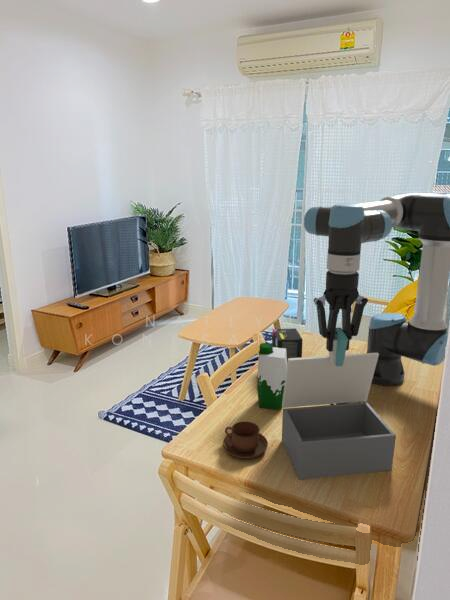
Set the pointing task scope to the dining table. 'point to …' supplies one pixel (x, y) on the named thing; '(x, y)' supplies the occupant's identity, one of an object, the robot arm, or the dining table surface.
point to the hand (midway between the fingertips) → (336, 362)
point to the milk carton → (271, 376)
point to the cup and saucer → (245, 440)
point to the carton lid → (329, 377)
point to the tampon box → (288, 342)
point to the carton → (337, 440)
